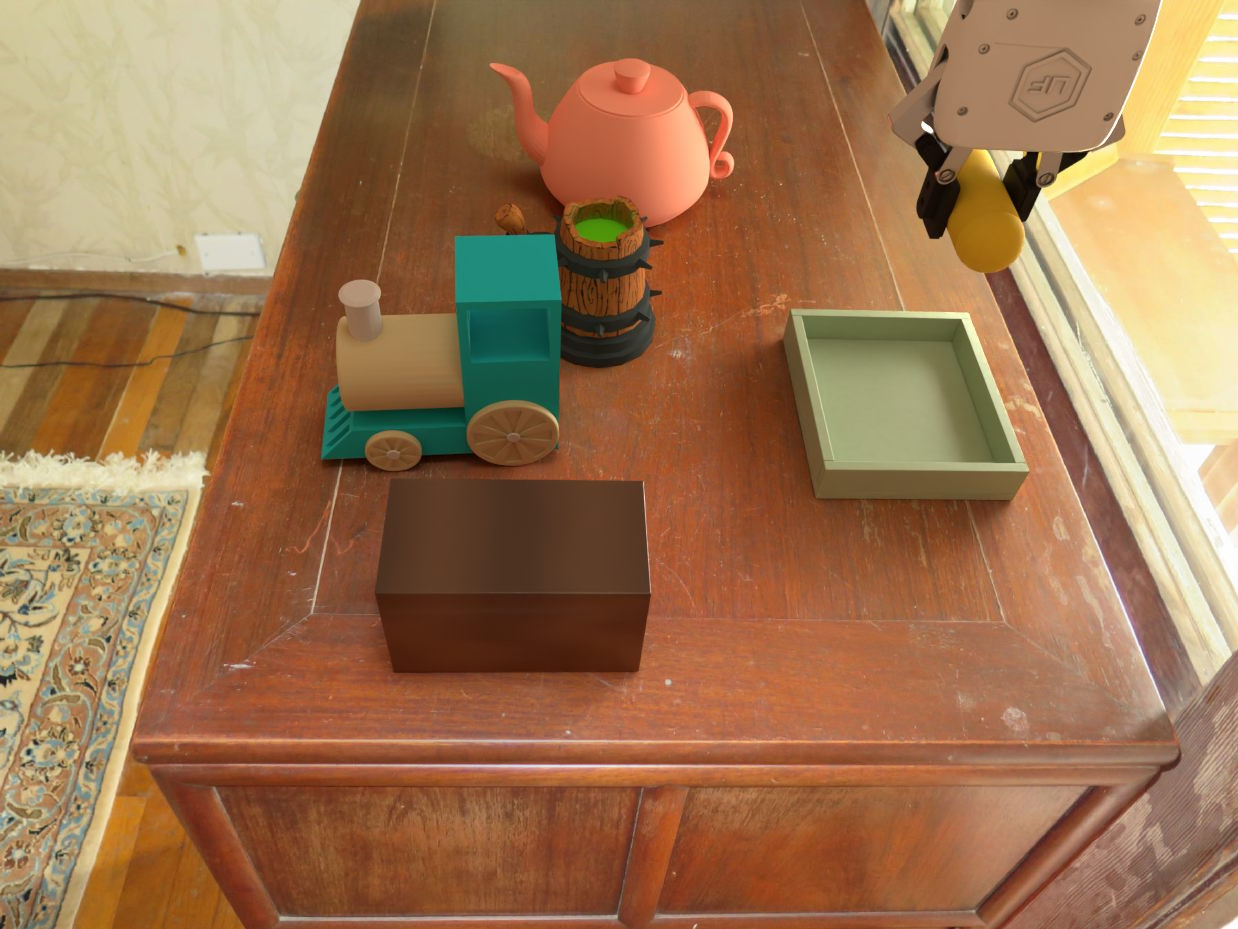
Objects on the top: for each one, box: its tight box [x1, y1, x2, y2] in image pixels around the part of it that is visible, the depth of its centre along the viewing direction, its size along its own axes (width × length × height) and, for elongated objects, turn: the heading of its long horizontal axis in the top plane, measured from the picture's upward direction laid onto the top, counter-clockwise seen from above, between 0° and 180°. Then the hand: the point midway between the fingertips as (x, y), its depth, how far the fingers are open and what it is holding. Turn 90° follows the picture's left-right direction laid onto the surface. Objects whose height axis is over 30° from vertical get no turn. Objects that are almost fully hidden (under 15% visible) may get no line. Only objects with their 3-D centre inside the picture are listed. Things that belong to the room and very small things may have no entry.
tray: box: [782, 308, 1030, 501], centre depth 75 cm, size 17×15×3 cm
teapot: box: [489, 57, 735, 229], centre depth 88 cm, size 22×16×12 cm
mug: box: [493, 195, 665, 369], centre depth 76 cm, size 13×10×12 cm
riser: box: [374, 477, 652, 673], centre depth 60 cm, size 15×8×9 cm, turn 92°
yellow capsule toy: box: [927, 149, 1026, 274], centre depth 62 cm, size 11×4×4 cm, turn 2°
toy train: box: [320, 233, 562, 472], centre depth 67 cm, size 8×17×15 cm, turn 96°
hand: (966, 224), depth 63 cm, fingers closed on yellow capsule toy, 4 cm apart
